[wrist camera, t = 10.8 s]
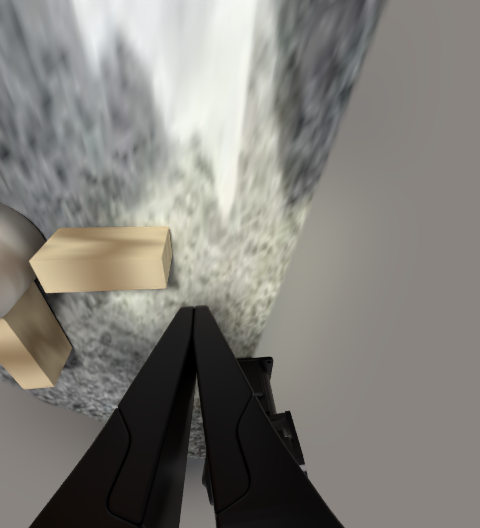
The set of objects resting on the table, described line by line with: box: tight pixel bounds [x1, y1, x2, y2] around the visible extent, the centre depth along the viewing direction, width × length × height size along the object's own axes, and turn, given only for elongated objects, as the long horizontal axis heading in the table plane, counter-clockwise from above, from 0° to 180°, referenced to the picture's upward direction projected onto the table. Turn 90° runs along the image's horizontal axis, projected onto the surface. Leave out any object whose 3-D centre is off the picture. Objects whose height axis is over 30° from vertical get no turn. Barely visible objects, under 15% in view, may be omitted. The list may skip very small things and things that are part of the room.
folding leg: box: [29, 227, 172, 293], centre depth 18 cm, size 8×2×4 cm, turn 87°
